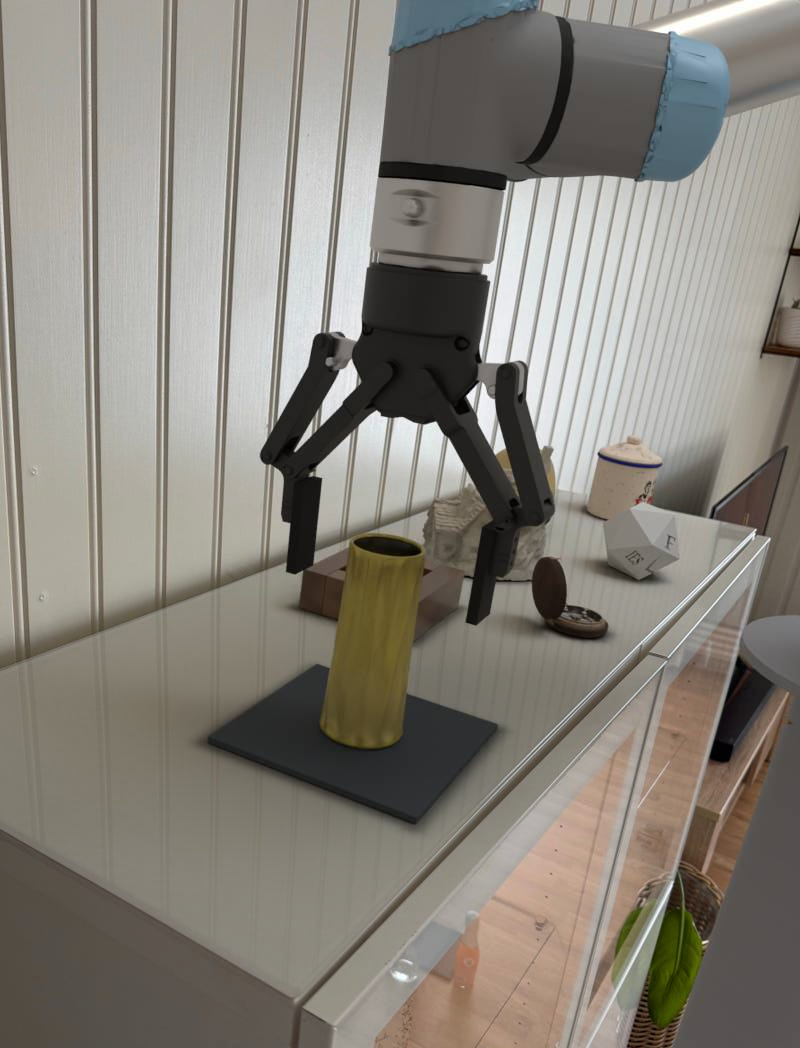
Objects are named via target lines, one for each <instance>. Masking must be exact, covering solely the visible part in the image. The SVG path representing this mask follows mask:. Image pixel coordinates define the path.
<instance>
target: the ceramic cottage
mask: <svg viewBox="0 0 800 1048" xmlns="http://www.w3.org/2000/svg"><path fill="white" fill-rule="evenodd" d="M541 450H542V453H541V457H542V461H543V464H544V468H545V472H546V476H547V475H548V473H549V471H550V467H551V460H552V459H550V458H552V455H553V453H554V450H555V448H554V446H552V445H543V447H542V449H541ZM503 470H504V472H505V474H506V476H507V478H508V479H509V481H510V483H511V485H512V487H513V489H514V490H515V492H516V494H517V496H518V498H519V494H518V491H517V487H516V483H515V480H514V476H513V472H512V469H503ZM550 490H551V489H550ZM551 494H552V498H553V502H554V503H555V502H556V501H555V500H556V499H555V496H554V494H553V492H551ZM519 500H520V498H519ZM426 516H427V517H428V518H427V519H426V520H425V523H424V524H423V528H422V529H421V531H422V533H423V534H422V538H423V539H424V542H423V543H422V544H421V545H422V546H423V547H424V548H425V551H426V561H430V562H434V563H438V564H441V565H445V566H449V567H452V568H456V569H460V570H464V571H465V573H464V576H469V577H470V578H473V576H474V570H475V564H476V559H477V553H478V547H479V541H480V536H481V530H482V527H483V526H484V525H486V524H488V523H489V522H491V521H492V520H493V518H492V516H491V514H490V512H489V511H488V509H487V507H486V505H485V503H484V501H483V500H482V498H481V496H480V494H479V492H478V490H477V489H476V487H475V485H474V484H473V483H470V482H469V483H468V485H467V486H465V487H464V489H463V490H462V492H461V493H459V495H457V499H456V500H450V499H444V498H440V497H436V498H435V499H434V500H432V502H431V504H430V506H429V508H428V510H427V513H426ZM545 522H546V521H545ZM545 522H544V523H542V524H541V525H539V526H525V527H522V528H521V531H520V536H519V542H518V547H517V551H516V557H515V563H514V567H513V568H512V570H511V571H510V573H508V574H507V575H506V576H504V577H503V578H501V577H497V578H496V580H497V581H504V580H505V581H509V580H510V581H512V582H515V581H525V582H526V581H528V580H529V581H532V575H533V571H534V568H535V565H536V563H537V562H538V560H539V559H541V558H543V557H548V555H547V554H546V553H545V552H546V551H545V549H546V545H547V530H546V528H545V527H546V525H545ZM544 525H545V526H544Z"/></svg>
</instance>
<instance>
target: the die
mask: <svg viewBox="0 0 800 1048" xmlns="http://www.w3.org/2000/svg"><path fill="white" fill-rule="evenodd" d="M602 527H603V535H604V540H605V541H604V542H605V549H606V557H607V564H608V566H609V567H611V568H614V569H615V570H618V571H619V572H621V573H623V574H625V575H627V576H629V577H631V578H633V579H636V580H637V581H640V580H642V579H644V578H646V577H647V576H649V575H652V574H654V573H655V572H657V571H659V570H662V569H663V568H665V567H667V566H669V565H671V564H673V563H675V562H677V561H679V560H680V559H681V557H680V549H679V540H678V539H679V538H678V530H677V523H676V515H675V513H672V512H669V511H667V510H665V509H662V508H660V507H657V506H654V505H652V504H651V503H650V504H647V503H645V502H642V503H640V504H638V505H636V506H634V507H632V508H630V509H628V510H626V511H624V512H622V513H620V514H619V515H617V516H615V517H613V518H611V519H609V520H605V521H603V522H602Z"/></svg>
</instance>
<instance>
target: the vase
mask: <svg viewBox="0 0 800 1048" xmlns="http://www.w3.org/2000/svg"><path fill="white" fill-rule="evenodd" d="M348 542H349V543H348V547H349V550H348V558H347V565H346V573H345V580H344V587H343V593H342V600H341V607H340V613H339V619H338V620H337V626H336V632H335V638H334V645H333V651H332V656H331V662H330V665H329V668H330V670H329V676H328V682H327V688H326V693H325V699H324V705H323V710H322V714H321V717H320V720H319V723H320V727H321V729H322V731H323V732H324V734H325V735H326V736H328V737H329V738H331V739H332V740H334V741H336V742H338V743H340V744H342V745H346V746H349V747H353V748H358V749H381V748H385V747H389V746H391V745H393V744H395V743H396V742H397V741H398V740H399V739H400V738H401V736H402V734H403V717H404V710H405V702H406V694H408V685H409V677H410V668H411V660H412V652H413V643H414V641H413V637H414V630H415V623H416V616H417V609H418V603H419V597H420V590H421V584H422V577H423V571H424V566H425V560H426V551H425V548H424V547H423V546H422V544H420V543H419V542H417V541H415V540H414V539H410V538H408V537H404V536H401V535H395V534H390V533H382V532H381V533H380V532H366V533H360V534H356V535H354V536H352V537H350V539H349V541H348Z"/></svg>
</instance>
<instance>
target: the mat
mask: <svg viewBox="0 0 800 1048" xmlns="http://www.w3.org/2000/svg"><path fill="white" fill-rule="evenodd" d="M329 670H330V667H328V666H325V665H322V664H319V663H316V664H314V665H313V666H312V667H310V668H308V669H306V670H305V671H304V672H303V673H301V674H299V675H298V676H297V677H295V678H293V679H291V680H290V681H289V682H287V683H285V684H284V685H283V686H281V687H280V688H278V689H277V690H275V691H274V692H272V693H270V694H269V695H267V696H266V697H265V698H263V699H262V700H260V701H259V702H257V703H256V704H254V705H253V706H251V707H250V708H249V709H247V710H246V711H244V712H242V713H241V714H239V715H238V716H237V717H235V718H233V719H232V720H230V721H229V722H228V723H226V724H224V725H222V726H221V727H219V728H218V729H217V730H215V731H213V732H212V733H210V734H209V735H208V736H207V740H206V741H207V742H206V743H208V744H211V745H213V746H216V747H218V748H221V749H223V750H226V751H229V752H231V753H234V754H236V755H239V756H242V757H244V758H246V759H249V760H252V761H254V762H257V763H259V764H261V765H265V766H267V767H269V768H272V769H275V770H277V771H279V772H282V773H285V774H287V775H290V776H292V777H294V778H297V779H300V780H302V781H305V782H308V783H310V784H312V785H315V786H318V787H321V788H322V789H325V790H328V791H330V792H334V793H336V794H338V795H341V796H343V797H346V798H348V799H351V800H353V801H356V802H358V803H361V804H364V805H366V806H368V807H371V808H374V809H377V810H378V811H381V812H384V813H387V814H390V815H392V816H394V817H396V818H400V819H402V820H405V821H407V822H409V823H412V824H415V825H416V824H417V823H418V822H419V821H420V820H421V819H422V817H423V816H424V815H425V814H426V813H427V812H428V811H429V809H430V808H431V807H432V806H433V805H434V804H435V802H436V801H437V800H438V799H439V798H440V797H441V796H442V795H443V793H444V792H445V791H446V789H447V788H448V787H449V786H450V785H451V784H452V783H453V782H454V780H455V779H456V778H457V777H458V776H459V775H460V773H461V772H462V771H463V770H464V768H465V767H466V766H467V765H468V764H469V763H470V762H471V761H472V759H474V757H475V756H476V755H477V753H479V751H480V750H481V749H482V748H483V747H484V745H485V744H486V743H487V742H488V741H489V740H490V738H492V736H493V735H494V734H495V733H496V731H497V730H498V728H499V724H498V723H496V722H493V721H490V720H487V719H483V718H481V717H478V716H475V715H472V714H469V713H466V712H463V711H460V710H456V709H454V708H451V707H448V706H445V705H442V704H440V703H435V702H433V701H430V700H427V699H424V698H421V697H419V696H416V695H412V694H409V693H407V694H406V702H405V710H404V717H403V734H402V736H401V738H400V739H399V740H398V741H397V742H396V743H395V744H393V745H391V746H389V747H385V748H381V749H358V748H353V747H349V746H346V745H342V744H340V743H338V742H336V741H334V740H332V739H331V738H329V737H328V736H326V735H325V734H324V732H323V731H322V729H321V727H320V723H319V720H320V717H321V714H322V710H323V705H324V699H325V693H326V688H327V682H328V676H329Z"/></svg>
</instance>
